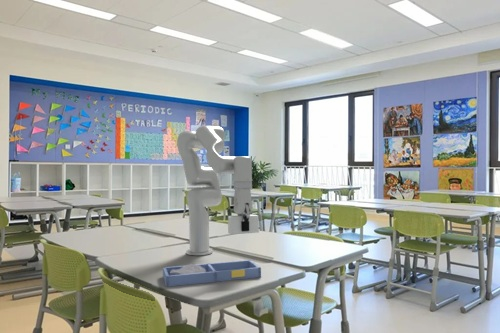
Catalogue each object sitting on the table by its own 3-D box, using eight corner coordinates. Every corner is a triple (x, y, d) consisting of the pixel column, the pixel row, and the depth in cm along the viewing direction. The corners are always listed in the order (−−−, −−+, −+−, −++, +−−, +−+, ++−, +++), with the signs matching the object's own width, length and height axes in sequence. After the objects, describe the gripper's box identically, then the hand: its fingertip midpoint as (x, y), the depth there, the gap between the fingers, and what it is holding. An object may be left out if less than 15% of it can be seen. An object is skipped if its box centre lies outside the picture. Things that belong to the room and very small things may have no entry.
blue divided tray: (162, 276, 147) (162, 267, 147) (250, 268, 158) (250, 259, 158) (166, 287, 134) (166, 276, 134) (261, 277, 145) (261, 267, 145)
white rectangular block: (228, 233, 160) (228, 216, 160) (255, 231, 164) (255, 214, 164) (231, 234, 156) (230, 217, 156) (258, 232, 160) (258, 215, 160)
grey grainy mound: (209, 281, 145) (191, 272, 151) (210, 269, 144) (192, 260, 151) (184, 290, 136) (167, 280, 142) (186, 277, 135) (168, 267, 142)
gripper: (228, 185, 167) (229, 228, 167) (240, 187, 151) (241, 234, 151) (244, 185, 169) (245, 226, 169) (258, 186, 153) (259, 232, 153)
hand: (243, 229), depth 160 cm, fingers closed on white rectangular block, 4 cm apart
